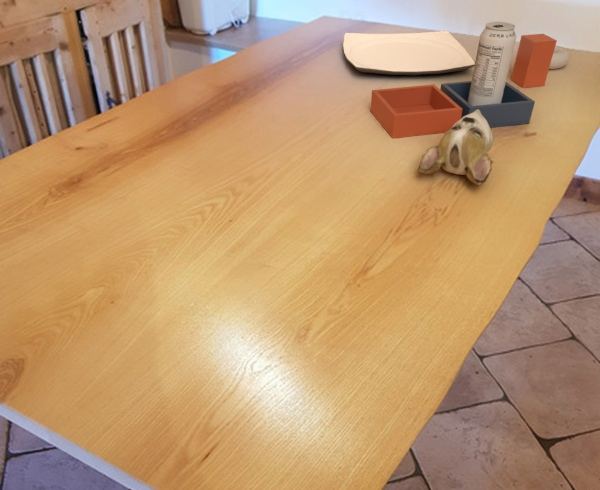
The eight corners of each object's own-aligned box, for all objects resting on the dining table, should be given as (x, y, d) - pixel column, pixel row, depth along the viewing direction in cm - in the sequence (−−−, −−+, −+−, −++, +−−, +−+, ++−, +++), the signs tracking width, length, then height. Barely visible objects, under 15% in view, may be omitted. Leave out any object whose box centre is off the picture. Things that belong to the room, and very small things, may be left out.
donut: (512, 63, 127) (550, 74, 121) (515, 47, 125) (554, 57, 118) (539, 55, 131) (576, 65, 125) (542, 39, 129) (581, 49, 123)
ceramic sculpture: (514, 104, 85) (492, 148, 75) (503, 155, 91) (480, 201, 81) (447, 94, 89) (417, 135, 79) (440, 143, 95) (412, 186, 85)
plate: (350, 82, 118) (350, 69, 117) (338, 42, 140) (338, 31, 138) (481, 79, 119) (483, 66, 117) (449, 40, 140) (451, 29, 139)
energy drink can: (505, 112, 103) (526, 26, 94) (482, 119, 101) (500, 32, 91) (482, 102, 107) (500, 18, 98) (459, 108, 105) (474, 23, 95)
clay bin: (458, 131, 99) (462, 108, 96) (392, 138, 97) (394, 115, 94) (431, 105, 108) (434, 84, 105) (370, 111, 106) (371, 89, 104)
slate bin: (529, 123, 101) (535, 101, 98) (465, 130, 99) (470, 108, 96) (496, 98, 110) (501, 78, 108) (437, 104, 108) (441, 83, 106)
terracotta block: (544, 85, 115) (557, 40, 110) (522, 87, 115) (534, 42, 109) (531, 77, 119) (543, 33, 113) (510, 79, 118) (521, 35, 113)
